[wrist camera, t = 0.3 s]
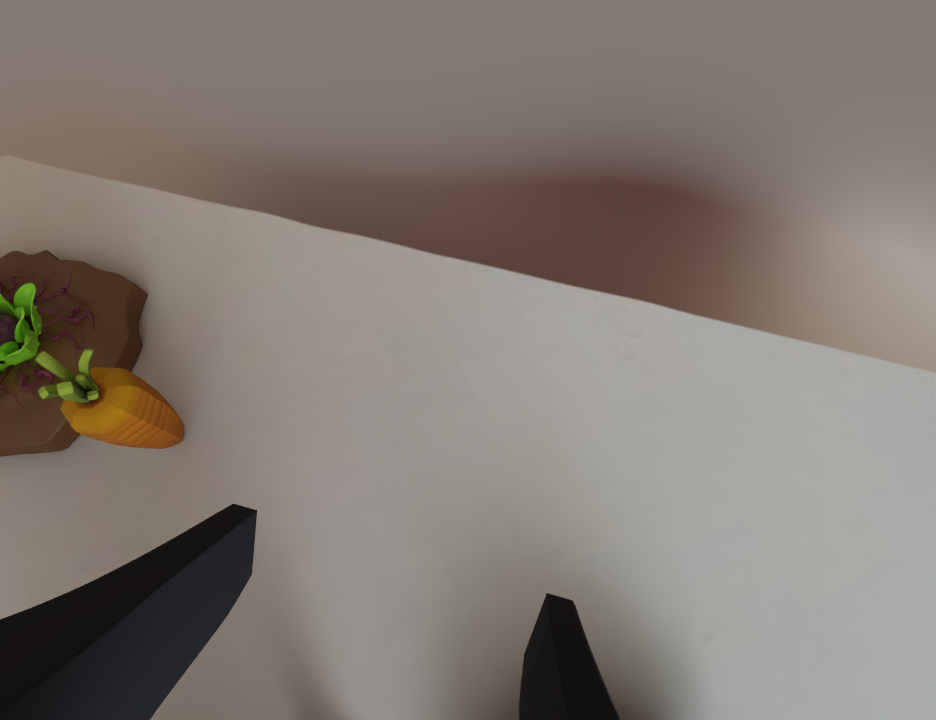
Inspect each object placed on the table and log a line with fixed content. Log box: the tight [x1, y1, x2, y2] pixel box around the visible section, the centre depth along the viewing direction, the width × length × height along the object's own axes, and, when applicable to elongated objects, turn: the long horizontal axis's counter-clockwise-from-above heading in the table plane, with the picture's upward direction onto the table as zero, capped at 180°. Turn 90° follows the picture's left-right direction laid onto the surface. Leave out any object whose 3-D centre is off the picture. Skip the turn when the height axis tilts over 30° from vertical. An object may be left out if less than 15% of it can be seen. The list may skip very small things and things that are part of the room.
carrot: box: [35, 349, 185, 449], centre depth 37 cm, size 5×5×15 cm
